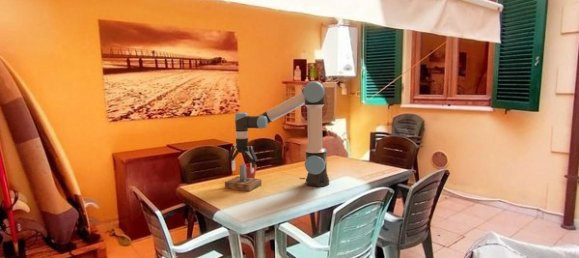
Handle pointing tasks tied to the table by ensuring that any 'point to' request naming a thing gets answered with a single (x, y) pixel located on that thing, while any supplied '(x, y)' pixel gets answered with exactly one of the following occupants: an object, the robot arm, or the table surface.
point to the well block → (243, 184)
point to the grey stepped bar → (243, 173)
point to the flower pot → (248, 171)
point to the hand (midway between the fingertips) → (242, 171)
